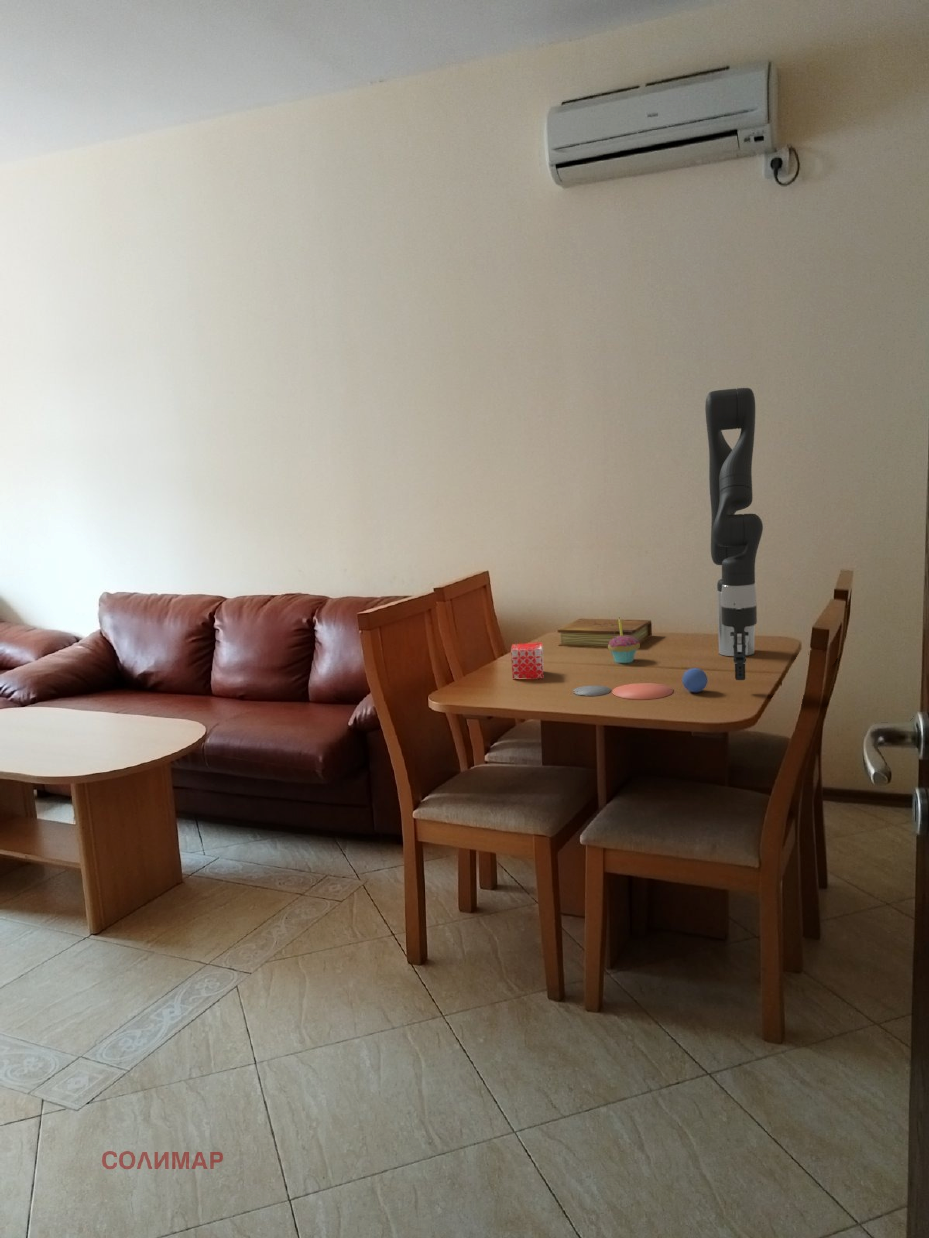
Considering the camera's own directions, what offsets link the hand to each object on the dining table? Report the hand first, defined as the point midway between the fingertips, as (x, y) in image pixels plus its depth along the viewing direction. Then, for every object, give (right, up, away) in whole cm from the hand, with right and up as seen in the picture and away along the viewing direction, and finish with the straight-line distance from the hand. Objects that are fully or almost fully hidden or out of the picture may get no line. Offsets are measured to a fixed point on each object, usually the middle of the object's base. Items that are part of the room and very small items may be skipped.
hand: (740, 679), depth 198 cm
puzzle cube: (-46, -2, +31) cm, 55 cm away
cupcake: (-19, +2, +39) cm, 43 cm away
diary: (-20, +6, +67) cm, 70 cm away
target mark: (-21, -3, +8) cm, 22 cm away
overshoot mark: (-32, -4, +11) cm, 34 cm away
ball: (-9, 0, +3) cm, 10 cm away
